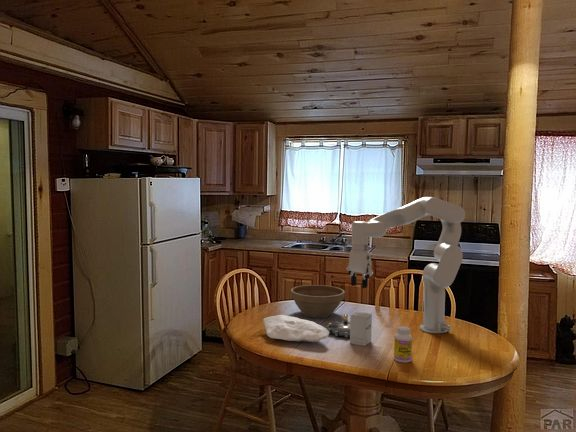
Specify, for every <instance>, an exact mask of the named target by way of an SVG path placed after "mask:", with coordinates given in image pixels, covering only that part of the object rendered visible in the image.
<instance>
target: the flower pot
mask: <svg viewBox="0 0 576 432" xmlns="http://www.w3.org/2000/svg"><path fill="white" fill-rule="evenodd" d="M345 293H346V291H345V290H344V289H343V288H340V287H336V286H332V285H321V284H307V285H298V286H295V287H293V288H292V287H291V289H290V297H291V298H292V299H293V300H294V303H295V305H296V306H297V309H298V310H300V312H301V313H303V315H304V316H305V317H308V318H314V319H316V318H317V319H319V318H320V319H321V318H327V317H330V316H331V314H332V313H334V312H335V311H336V310H337V309H338V307H339V306H340V304H341V302H342V301H343V300H344V299H345V296H346V294H345Z"/></svg>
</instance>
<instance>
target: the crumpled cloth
mask: <svg viewBox="0 0 576 432" xmlns="http://www.w3.org/2000/svg"><path fill="white" fill-rule="evenodd" d="M262 320H263V325H264V327H265V331H266V335H267V336H268V337H269V338H270V339H277V340H284V341H287V342H288V341H289V342H293V341H294V342H309V343H310V342H312V343H315V342H316V343H319V342H320V341H322V340H326V338H328V337H329V331H328V330H327V329H326V327H325V326H323V325H320V324H318V323H316V322H314V321H311V320H308V319H302V318H299V317H295V316H290V315H287V314H285V315H284V314H278V315H273V316H268V317H265V318H263V319H262Z"/></svg>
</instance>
